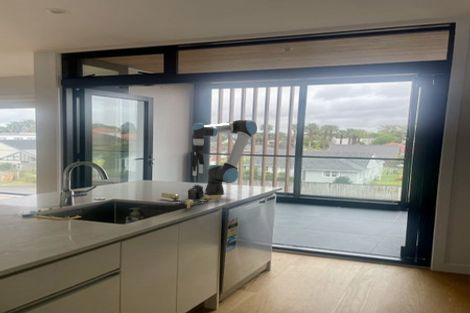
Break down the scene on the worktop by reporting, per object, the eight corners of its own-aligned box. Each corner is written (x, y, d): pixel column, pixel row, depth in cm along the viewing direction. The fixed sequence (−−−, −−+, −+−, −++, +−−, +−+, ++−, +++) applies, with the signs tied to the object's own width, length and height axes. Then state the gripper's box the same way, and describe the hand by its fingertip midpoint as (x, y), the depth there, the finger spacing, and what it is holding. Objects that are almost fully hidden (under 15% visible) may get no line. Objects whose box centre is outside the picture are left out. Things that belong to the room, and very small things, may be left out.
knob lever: (179, 200, 251) (180, 194, 251) (175, 201, 247) (175, 195, 246) (164, 197, 257) (164, 192, 257) (159, 198, 252) (160, 193, 252)
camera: (199, 200, 256) (200, 186, 255) (186, 199, 258) (187, 185, 257) (205, 197, 269) (205, 184, 268) (192, 196, 271) (193, 183, 270)
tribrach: (190, 196, 270) (190, 190, 269) (221, 200, 258) (222, 194, 257) (153, 205, 232) (153, 198, 231) (188, 211, 220) (189, 203, 219)
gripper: (199, 143, 269) (198, 172, 270) (187, 145, 244) (186, 176, 246) (208, 144, 267) (208, 172, 269) (197, 145, 243) (197, 176, 244)
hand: (197, 174), depth 257 cm, fingers open, 13 cm apart
